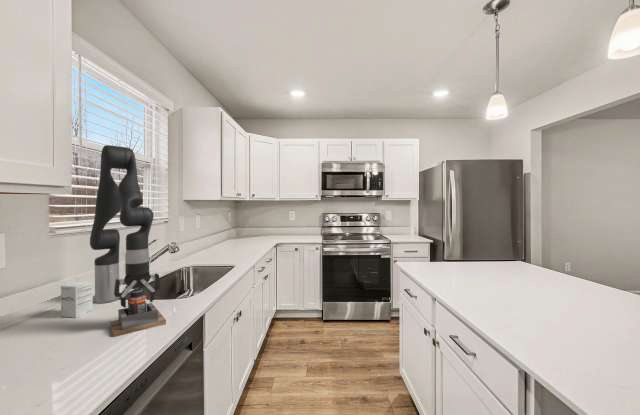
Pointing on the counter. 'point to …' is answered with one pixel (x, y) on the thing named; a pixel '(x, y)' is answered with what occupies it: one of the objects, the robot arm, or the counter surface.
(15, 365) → the counter surface
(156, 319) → the socket stand
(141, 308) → the supplement bottle
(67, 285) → the supplement box
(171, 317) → the counter surface
